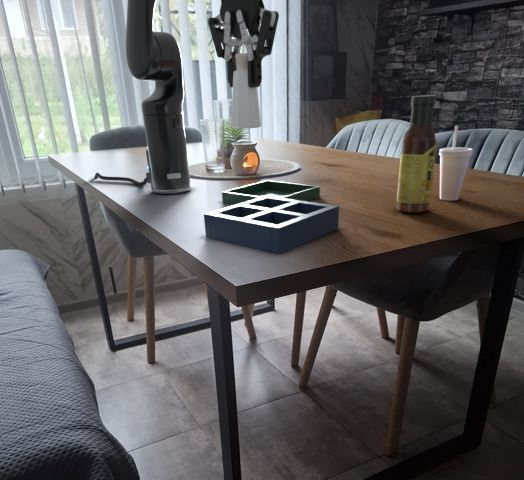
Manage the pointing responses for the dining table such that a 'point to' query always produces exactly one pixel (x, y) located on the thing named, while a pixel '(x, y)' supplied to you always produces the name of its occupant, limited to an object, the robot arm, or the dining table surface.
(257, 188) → the tray
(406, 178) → the sauce bottle
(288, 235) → the rack
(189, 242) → the dining table surface
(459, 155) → the smoothie
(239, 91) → the pepper shaker
